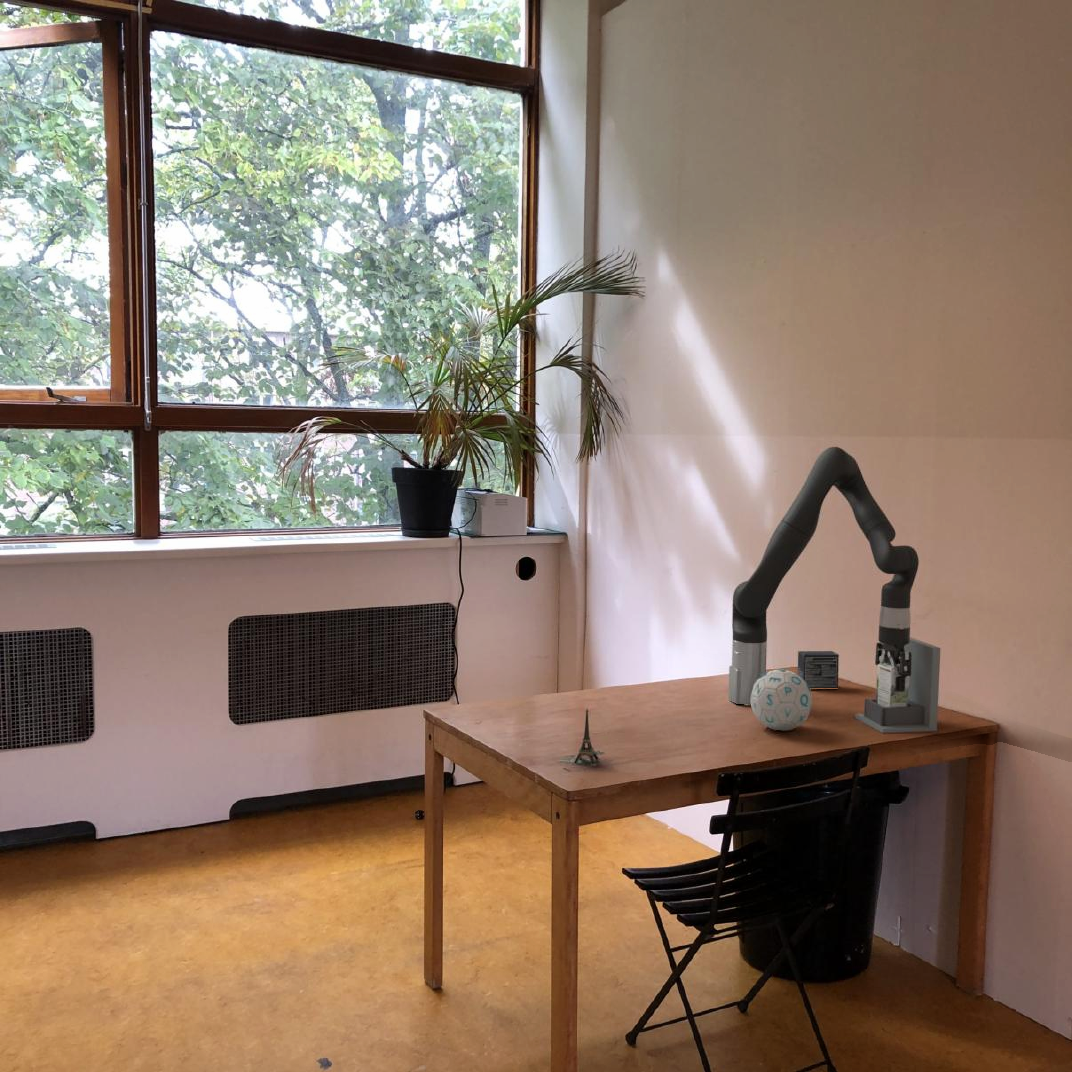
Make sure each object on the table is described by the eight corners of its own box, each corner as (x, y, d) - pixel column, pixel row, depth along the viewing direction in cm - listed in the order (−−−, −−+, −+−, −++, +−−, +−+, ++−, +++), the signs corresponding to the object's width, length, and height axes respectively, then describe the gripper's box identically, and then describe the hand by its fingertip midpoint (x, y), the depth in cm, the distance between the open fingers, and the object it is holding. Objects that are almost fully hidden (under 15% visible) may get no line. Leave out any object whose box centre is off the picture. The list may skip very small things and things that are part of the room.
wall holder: (882, 732, 270) (886, 649, 268) (854, 717, 285) (858, 638, 283) (936, 731, 272) (940, 648, 270) (906, 715, 287) (910, 637, 285)
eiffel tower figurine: (600, 752, 252) (601, 696, 250) (626, 764, 243) (627, 705, 242) (545, 762, 244) (545, 703, 243) (569, 774, 235) (570, 713, 234)
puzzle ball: (755, 737, 265) (757, 676, 263) (744, 721, 280) (746, 663, 278) (818, 737, 265) (820, 677, 263) (803, 721, 280) (805, 664, 278)
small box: (831, 685, 323) (832, 650, 322) (838, 690, 316) (840, 654, 316) (796, 685, 322) (797, 650, 321) (803, 690, 316) (804, 654, 315)
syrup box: (892, 716, 282) (894, 661, 280) (907, 722, 276) (910, 666, 275) (874, 718, 280) (876, 663, 278) (889, 724, 274) (891, 667, 273)
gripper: (867, 619, 282) (865, 681, 284) (894, 629, 268) (891, 694, 270) (894, 619, 284) (891, 681, 285) (922, 629, 270) (920, 693, 271)
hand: (891, 687), depth 277 cm, fingers open, 8 cm apart
